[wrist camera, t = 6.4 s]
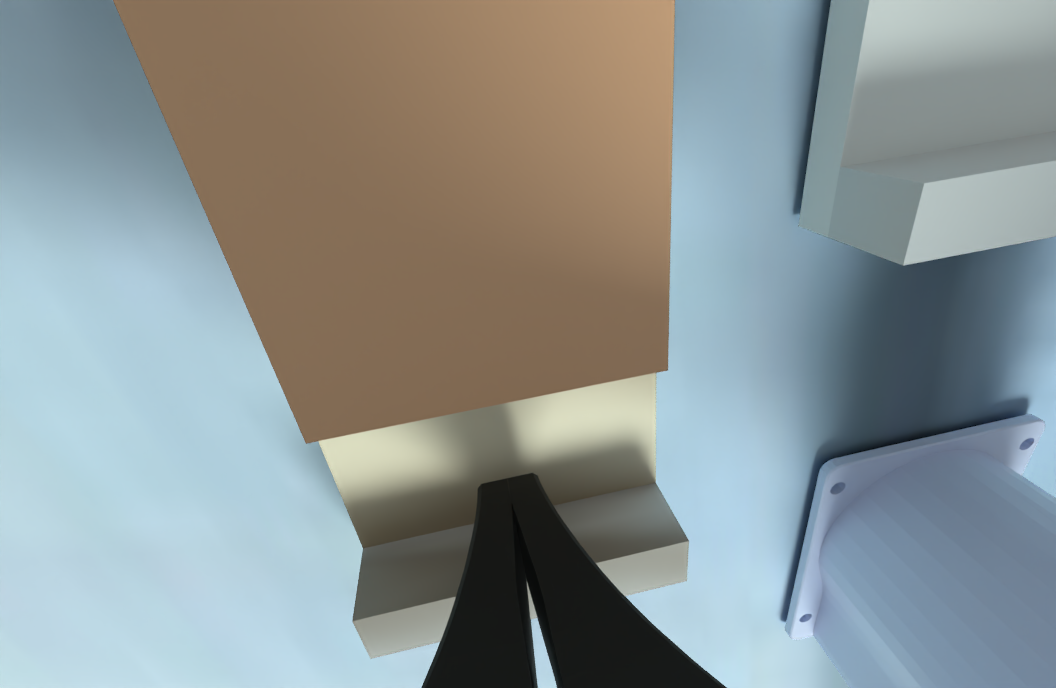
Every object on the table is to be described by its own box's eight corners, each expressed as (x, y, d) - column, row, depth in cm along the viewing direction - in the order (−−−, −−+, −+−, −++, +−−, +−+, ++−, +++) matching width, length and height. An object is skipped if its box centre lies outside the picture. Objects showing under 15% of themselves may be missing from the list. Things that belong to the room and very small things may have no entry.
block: (576, 260, 10) (668, 370, 6) (356, 300, 10) (306, 443, 6) (556, -2, 8) (677, -89, 4) (272, 33, 8) (103, -25, 4)
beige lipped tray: (642, 495, 15) (686, 580, 13) (381, 554, 14) (370, 659, 12) (635, -92, 8) (726, -173, 6) (146, -39, 8) (-1, -105, 5)
